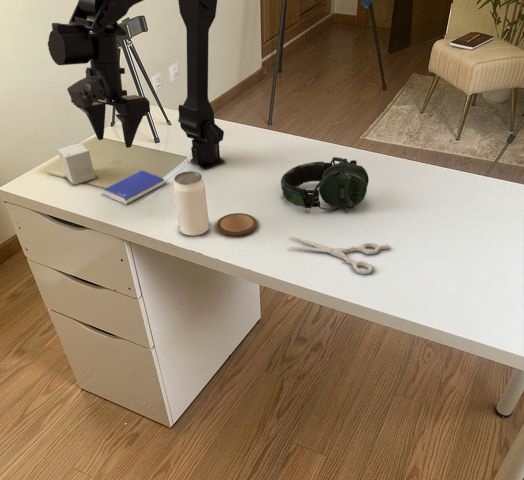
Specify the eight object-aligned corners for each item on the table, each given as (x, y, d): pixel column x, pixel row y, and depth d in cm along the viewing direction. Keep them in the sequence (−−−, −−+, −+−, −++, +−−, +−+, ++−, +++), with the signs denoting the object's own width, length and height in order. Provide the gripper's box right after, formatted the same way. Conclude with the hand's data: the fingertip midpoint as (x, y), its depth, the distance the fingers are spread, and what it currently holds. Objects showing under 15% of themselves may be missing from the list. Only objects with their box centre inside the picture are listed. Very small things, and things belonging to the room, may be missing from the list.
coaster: (240, 212, 121) (240, 208, 121) (265, 227, 116) (265, 223, 116) (209, 225, 117) (208, 222, 117) (233, 242, 112) (233, 238, 112)
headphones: (371, 161, 125) (289, 167, 131) (366, 138, 112) (275, 146, 118) (369, 218, 125) (287, 221, 130) (364, 201, 112) (273, 206, 118)
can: (214, 223, 118) (208, 172, 110) (202, 238, 114) (196, 186, 105) (187, 219, 120) (180, 168, 111) (175, 234, 115) (166, 182, 107)
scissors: (377, 273, 102) (279, 253, 107) (377, 277, 102) (279, 256, 108) (389, 244, 109) (296, 227, 114) (388, 248, 109) (296, 230, 115)
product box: (96, 178, 135) (89, 150, 130) (73, 185, 132) (65, 157, 127) (87, 170, 139) (80, 142, 133) (65, 176, 136) (56, 148, 131)
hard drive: (125, 198, 124) (163, 178, 131) (102, 188, 128) (141, 169, 134) (126, 204, 125) (164, 184, 132) (104, 194, 129) (142, 175, 136)
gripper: (41, 60, 105) (56, 142, 114) (102, 70, 96) (113, 159, 105) (88, 56, 113) (98, 133, 122) (148, 66, 104) (154, 148, 113)
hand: (114, 143), depth 115 cm, fingers open, 9 cm apart
